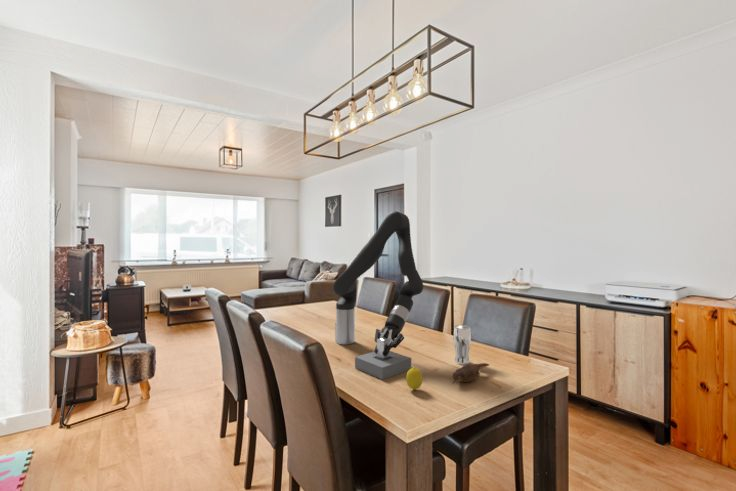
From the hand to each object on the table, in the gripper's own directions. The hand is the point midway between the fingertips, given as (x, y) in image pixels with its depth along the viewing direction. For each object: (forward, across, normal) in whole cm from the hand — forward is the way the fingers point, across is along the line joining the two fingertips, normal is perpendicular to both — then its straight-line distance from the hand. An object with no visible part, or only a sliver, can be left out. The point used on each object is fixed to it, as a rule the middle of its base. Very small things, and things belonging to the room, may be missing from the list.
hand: (380, 353), depth 143 cm
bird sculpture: (-5, +32, +15) cm, 35 cm away
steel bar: (+2, 0, +5) cm, 5 cm away
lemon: (+10, +21, 0) cm, 23 cm away
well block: (+3, 0, +6) cm, 7 cm away
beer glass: (-16, +21, +25) cm, 37 cm away
